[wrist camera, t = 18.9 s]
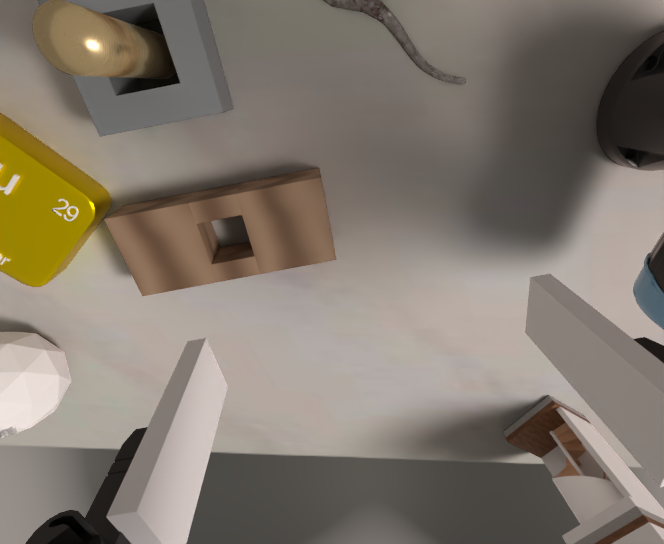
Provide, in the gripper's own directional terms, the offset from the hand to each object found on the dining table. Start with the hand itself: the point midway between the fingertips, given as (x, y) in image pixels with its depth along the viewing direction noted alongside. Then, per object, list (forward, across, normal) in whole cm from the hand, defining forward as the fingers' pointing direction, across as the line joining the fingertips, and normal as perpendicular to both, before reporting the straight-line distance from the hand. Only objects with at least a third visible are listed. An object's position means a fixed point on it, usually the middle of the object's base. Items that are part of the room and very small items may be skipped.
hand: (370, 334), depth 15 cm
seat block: (+32, -15, +14) cm, 38 cm away
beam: (+32, -13, -4) cm, 35 cm away
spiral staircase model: (+33, +31, -55) cm, 71 cm away
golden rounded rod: (+32, -15, +14) cm, 38 cm away
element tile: (+32, -36, +4) cm, 48 cm away
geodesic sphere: (+32, -46, -17) cm, 59 cm away
